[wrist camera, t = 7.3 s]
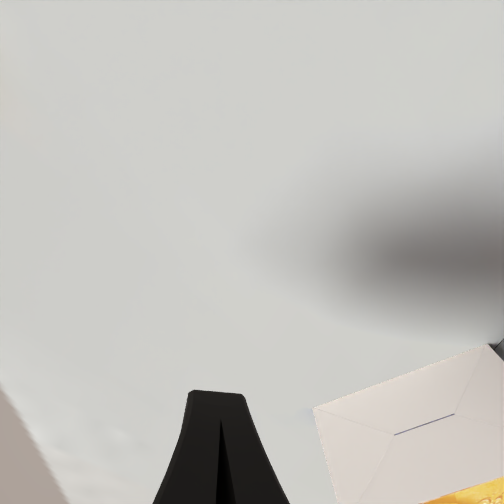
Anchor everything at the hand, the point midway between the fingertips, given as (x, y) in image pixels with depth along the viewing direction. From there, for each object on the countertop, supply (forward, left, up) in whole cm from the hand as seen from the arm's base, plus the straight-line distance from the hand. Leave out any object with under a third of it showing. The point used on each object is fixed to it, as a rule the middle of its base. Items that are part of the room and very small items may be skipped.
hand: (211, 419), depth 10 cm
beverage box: (-13, +4, -6) cm, 15 cm away
